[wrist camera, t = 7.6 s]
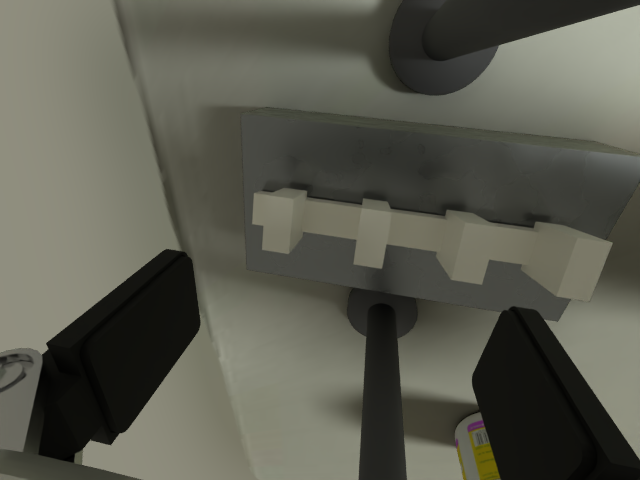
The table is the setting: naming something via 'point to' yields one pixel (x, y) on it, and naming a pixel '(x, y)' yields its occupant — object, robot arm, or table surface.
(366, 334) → the cable upright
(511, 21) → the cable upright
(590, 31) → the table surface
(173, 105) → the table surface
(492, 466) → the supplement bottle
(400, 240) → the breaker paddles
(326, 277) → the breaker panel
